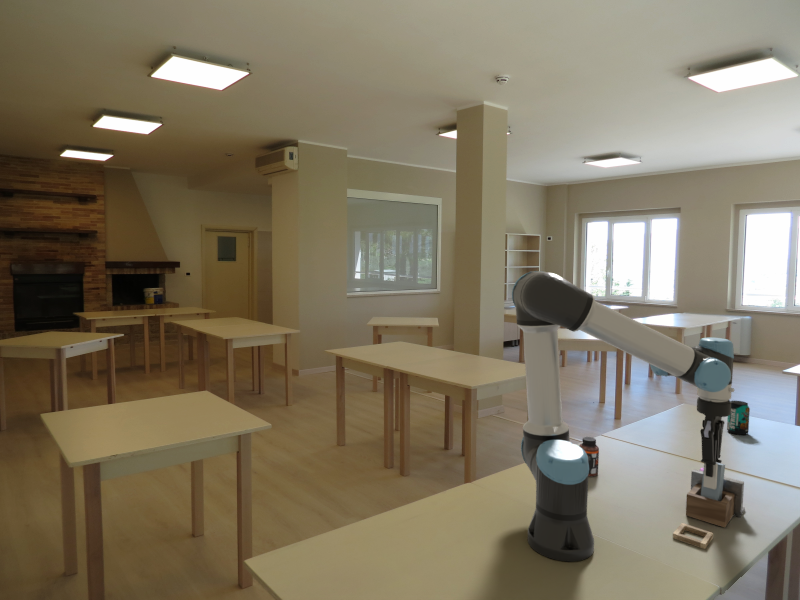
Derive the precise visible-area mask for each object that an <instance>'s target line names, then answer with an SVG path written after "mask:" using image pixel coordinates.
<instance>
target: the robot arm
mask: <svg viewBox="0 0 800 600" xmlns="http://www.w3.org/2000/svg"><path fill="white" fill-rule="evenodd" d="M511 290H512V291H511V299H512V303H513V305H514V307H515V314H516V315H515V317H516V326H517V327H518V328H519V329H520V330H521V331H522V332H523V349H524V367H525V369H524V370H525V383H526V385H525V386H526V401H527V416H528V420H527V421H526V422H525V423H524V424H523V426H522V431H523V432H522V433H523V437H522V439H521V444H520V451H521V457H522V459H523V461H524V463H525V464H526V466H527V468H528V469H529V471H530V472H531V474H532V476H533V478H534V480H535V484H536V485H535V489H536V490H535V510H534V512H533V515H532V518H531V520H530V523H529V526H528V528H527V543H528V545H529V546H530V548H531V549H533V550H534V551H535V552H537V553H538V554H540V555H541V556H544V557H546V558H549V559H552V560H554V561H555V560H556V561H559V562H560V561H561V562H579V561H583V560H587V559H588V558H590V557H591V556H592V555H593V554H594V551H595V539H594V535H593V531H592V528H591V525H590V522H589V519H588V498H589V497H588V496H589V495H588V493H589V476H588V473H589V463H588V456H587V454H586V452H585V451H584V450H583V449H582V448H581V447H580V446H579V445H578V444H577V443H573V442H572V441H570V440H571V438H570V427H569V425H568V424H567V422H565V421H564V420H563V411H562V410H563V409H562V393H561V392H562V390H561V373H560V372H561V371H560V367H561V366H560V353H559V333H558V331H559V328H560V327H562V328H564V329H567V330H569V331H571V332H572V333H573V332H578V331H581V332H583V333H585V334H587V335H589V336H591V337H593V338H595V339H596V340H600V341H602V342H604V343H605V344H607V345H610V346H612V347H614V348H616V349H618V350H621V351H623V352H624V353H627V354H628V355H630V356H633V357H635V358H637V359H639V360H641V361H643V362H645V363H647V364H649V367H650V369H651V371H652V373H653V374H654V375H656V376H662V377H663V376H664V377H666V378H667V377H674V378H677V379H679V380H682V381H684V382H686V383H689V384H690V385H691V386H695V387H696V388H697V390H696V391H697V393H696V395H697V398H696V411H697V412H698V413H699V414H702V415H704V419H702V428H700V436H701V460H700V463H703V468H704V484H703V486H704V487H707V488H711V489H716V488H717V470H718V463H720V464H722V459H720V458H721V454H722V453H721V451H722V444H723V443H722V442H723V434H724V425H725V420H723V419H722V418H725V417H727V418H728V416H729V415H730V414H731V402H730V401H731V399H732V393H734V392H735V389H734V388H733V386H732V384H733V372H734V371H733V369H734V359H735V356H734V355H735V354H734V343H733V342H732V341H731V340H729V339H726V338H721V337H703V338H700V340H699V343H698V345H695V346H693V345H692V346H688V345H686V344H685V343H683V342H680V341H678V340H676V339H674V338H672V337H670V336H668V335H666V334H664V333H662V332H660V331H658V330H656V329H654V328H652V327H649V326H647V325H645V324H643V323H641V322H639V321H638V320H635V319H633V318H631V317H629V316H627V315H625V314H623V313H621V312H619V311H617V310H615V309H613V308H611V307H609V306H606V305H604V304H602V303H601V302H598V301H596V298H595V296H594V295H593V294H592V293H589V292H587V290H584V289H582V288H580V287H578V286H577V285H576V284H574V283H572V282H570V281H569V280H568V279H566V278H564V277H562V276H561V275H559V274H558V273H553V272H548V271H547V272H546V271H543V270H540V271H539V270H534V271H529V272H526V273H525V274H522V275H521V276H520V277H519V278H517V280H516V281H515V282H514V284H513V286H512V289H511Z"/></svg>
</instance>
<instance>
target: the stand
mask: <svg viewBox="0 0 800 600" xmlns="http://www.w3.org/2000/svg"><path fill="white" fill-rule="evenodd" d="M685 531H686V532H689V533H692V534H694V535H695V534H696V535H698V536H701V537H703V538H702V540H699V539H697V538H694V537H692V536H689V535H685V534H683V533H684V532H685ZM672 539H675V540H677V541H680V542H683V543H686V544H690V545H692V546H694V547H698V548H700V549H703V550H706V549H707V548H708V545H709V544H710V543H711V542H712V540H713V539H714V533H713V532H711V531H708V530H706V529H702V528H700V527H696V526H693V525H690V524H688V523H687V524H686V523H683V522H681V523H680V524H679V526H678V527H677V528H676V529H675V530H674V531H673V533H672Z"/></svg>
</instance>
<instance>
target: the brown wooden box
mask: <svg viewBox="0 0 800 600" xmlns="http://www.w3.org/2000/svg"><path fill="white" fill-rule="evenodd" d="M701 488H702V485H700V484H696V485H695V486H694V487H693V488H692V489H691V488H690V490H689V491H688V492H687V493H686V502H685V503H686V505H685V516H687V517H690V518H693V519H696V520H699V521H702V522H706V523H709V524H712V525H715V526H719V527H721V528H726V527H727V525H728V524H729V522H730V521H731V520H732V518H733V517H734V516H735V515H734V496H735V494H733V493H730V492H726V491H722V500H721V501H717V500H714V499H710V498H707V497H703V496H701Z"/></svg>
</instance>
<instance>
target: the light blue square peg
mask: <svg viewBox="0 0 800 600" xmlns="http://www.w3.org/2000/svg"><path fill="white" fill-rule="evenodd" d="M725 470H726V464H723V463H718V470H717V488H716V489H711V488H707V487H704V486H703V484H704V470H703V479H702V488H701V496H703V497H707V498H710V499H714V500H717V501H721V500H722V490H723V481H724V477H725Z"/></svg>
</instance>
